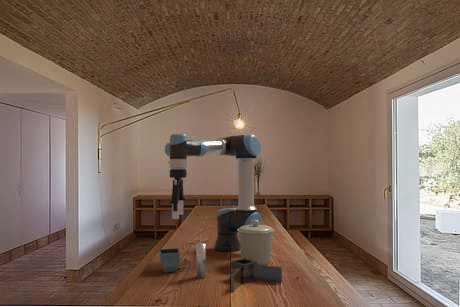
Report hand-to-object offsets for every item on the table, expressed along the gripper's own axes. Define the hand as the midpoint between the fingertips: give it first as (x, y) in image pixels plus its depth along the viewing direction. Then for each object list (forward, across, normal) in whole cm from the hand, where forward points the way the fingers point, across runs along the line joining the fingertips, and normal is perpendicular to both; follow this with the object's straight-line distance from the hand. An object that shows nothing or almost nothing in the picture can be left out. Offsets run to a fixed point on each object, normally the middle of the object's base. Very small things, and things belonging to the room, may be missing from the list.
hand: (177, 216), depth 154 cm
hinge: (+25, +12, +30) cm, 41 cm away
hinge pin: (+25, +4, +11) cm, 28 cm away
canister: (+25, -16, +36) cm, 46 cm away
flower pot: (+25, -5, -4) cm, 26 cm away
